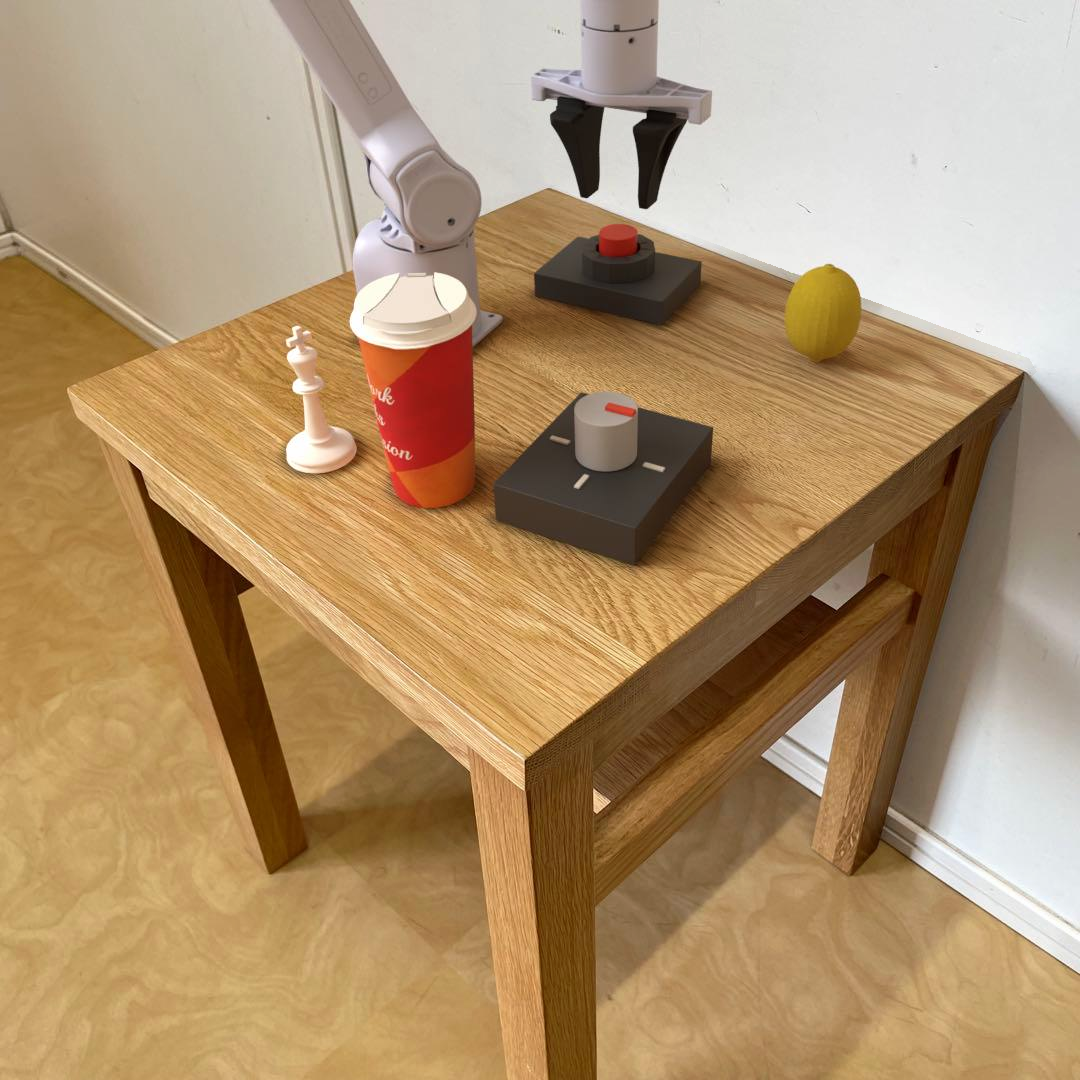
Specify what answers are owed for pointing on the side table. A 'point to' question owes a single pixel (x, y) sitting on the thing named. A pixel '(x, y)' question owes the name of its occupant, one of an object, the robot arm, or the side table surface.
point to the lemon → (823, 312)
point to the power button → (618, 240)
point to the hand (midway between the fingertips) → (618, 198)
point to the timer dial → (606, 431)
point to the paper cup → (421, 382)
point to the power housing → (619, 280)
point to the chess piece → (314, 417)
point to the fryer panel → (604, 486)
